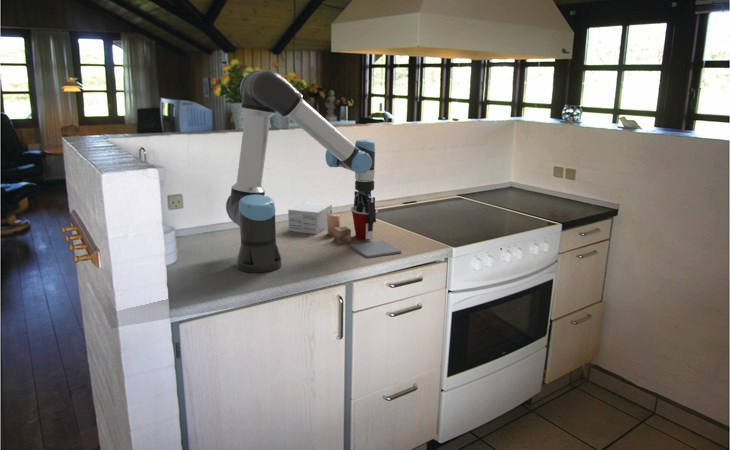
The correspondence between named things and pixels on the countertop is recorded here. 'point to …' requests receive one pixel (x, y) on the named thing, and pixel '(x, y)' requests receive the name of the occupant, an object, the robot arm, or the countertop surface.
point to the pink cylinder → (333, 223)
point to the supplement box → (309, 217)
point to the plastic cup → (360, 222)
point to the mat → (375, 249)
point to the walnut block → (342, 234)
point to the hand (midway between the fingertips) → (363, 235)
